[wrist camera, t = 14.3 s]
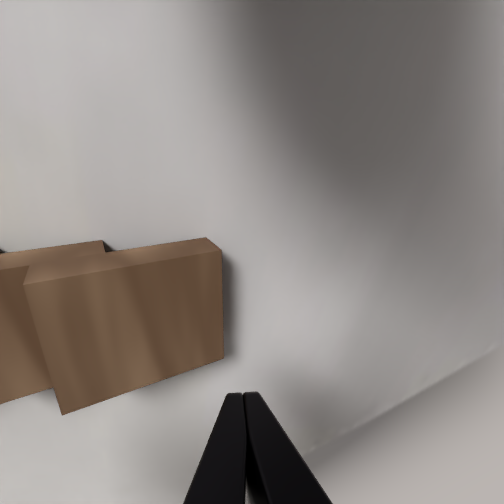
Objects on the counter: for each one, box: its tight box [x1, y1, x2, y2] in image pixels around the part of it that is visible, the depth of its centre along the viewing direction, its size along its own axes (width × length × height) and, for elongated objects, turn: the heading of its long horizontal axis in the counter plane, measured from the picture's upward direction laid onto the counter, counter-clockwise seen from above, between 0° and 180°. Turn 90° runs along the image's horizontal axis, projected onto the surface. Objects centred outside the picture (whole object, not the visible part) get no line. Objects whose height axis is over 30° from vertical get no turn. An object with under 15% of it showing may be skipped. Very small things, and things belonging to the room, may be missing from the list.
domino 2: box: [23, 238, 224, 415], centre depth 11 cm, size 2×5×6 cm
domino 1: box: [0, 240, 105, 404], centre depth 11 cm, size 2×5×6 cm
